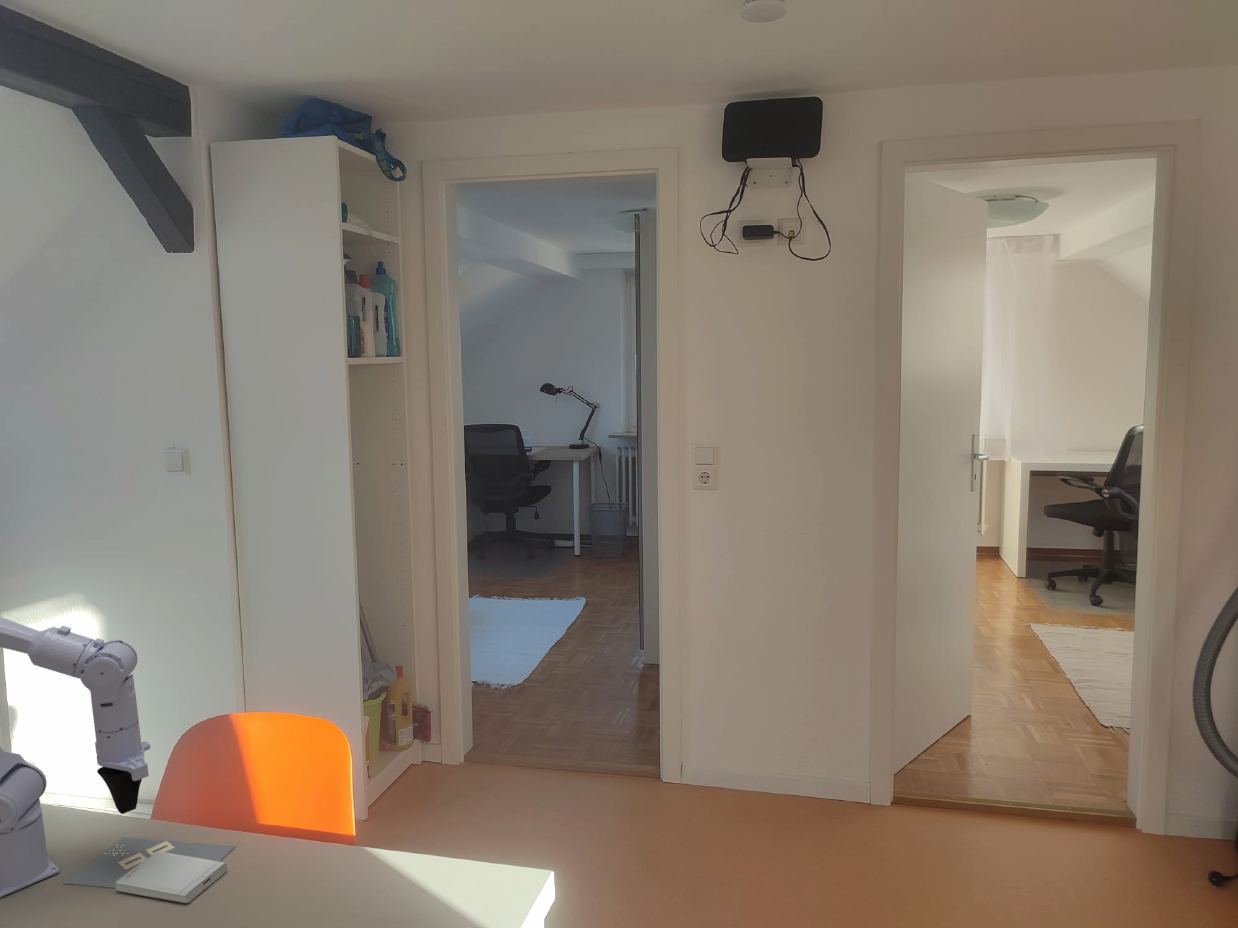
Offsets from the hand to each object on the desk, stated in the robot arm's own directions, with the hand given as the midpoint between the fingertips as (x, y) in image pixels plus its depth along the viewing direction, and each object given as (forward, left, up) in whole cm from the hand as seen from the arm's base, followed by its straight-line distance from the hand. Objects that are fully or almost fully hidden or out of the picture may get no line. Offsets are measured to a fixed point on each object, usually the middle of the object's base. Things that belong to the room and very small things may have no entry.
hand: (127, 809), depth 133 cm
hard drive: (+10, +1, -8) cm, 13 cm away
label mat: (+3, +1, -8) cm, 9 cm away
